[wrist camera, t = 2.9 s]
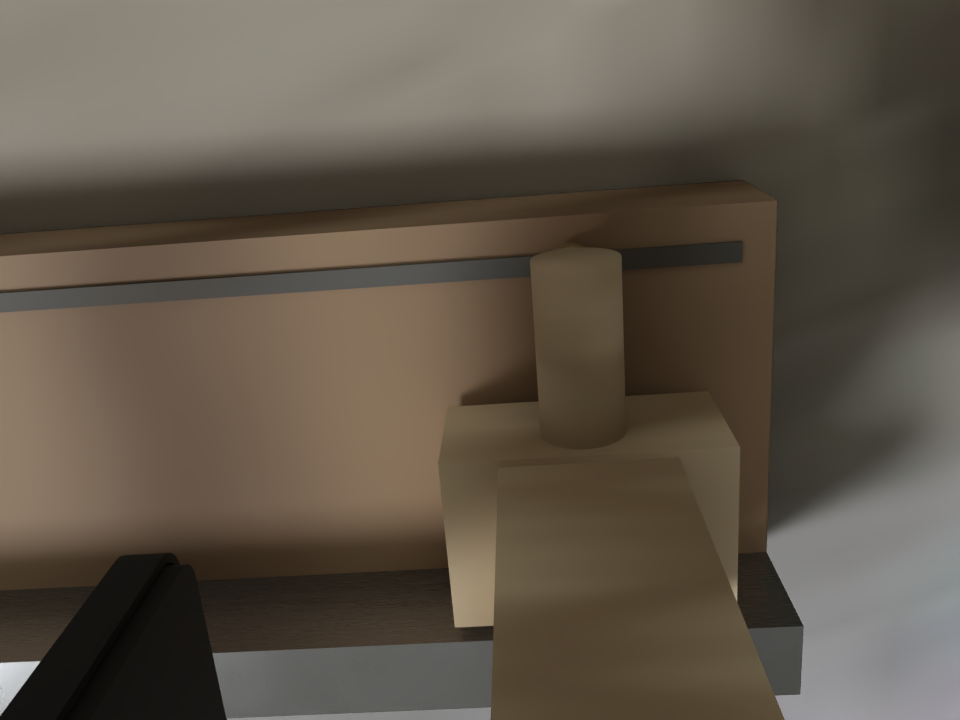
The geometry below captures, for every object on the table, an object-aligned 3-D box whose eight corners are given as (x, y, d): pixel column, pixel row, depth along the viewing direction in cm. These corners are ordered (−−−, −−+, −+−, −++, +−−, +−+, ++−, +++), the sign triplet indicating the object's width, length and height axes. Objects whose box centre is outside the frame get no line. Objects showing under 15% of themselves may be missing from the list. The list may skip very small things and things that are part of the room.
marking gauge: (710, 229, 13) (988, 493, 5) (707, 540, 15) (918, 1073, 7) (432, 248, 13) (327, 528, 6) (461, 552, 15) (412, 1082, 7)
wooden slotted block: (743, 180, 15) (822, 228, 11) (736, 550, 17) (800, 694, 13) (-295, 255, 16) (-547, 324, 12) (-169, 595, 18) (-346, 742, 14)
